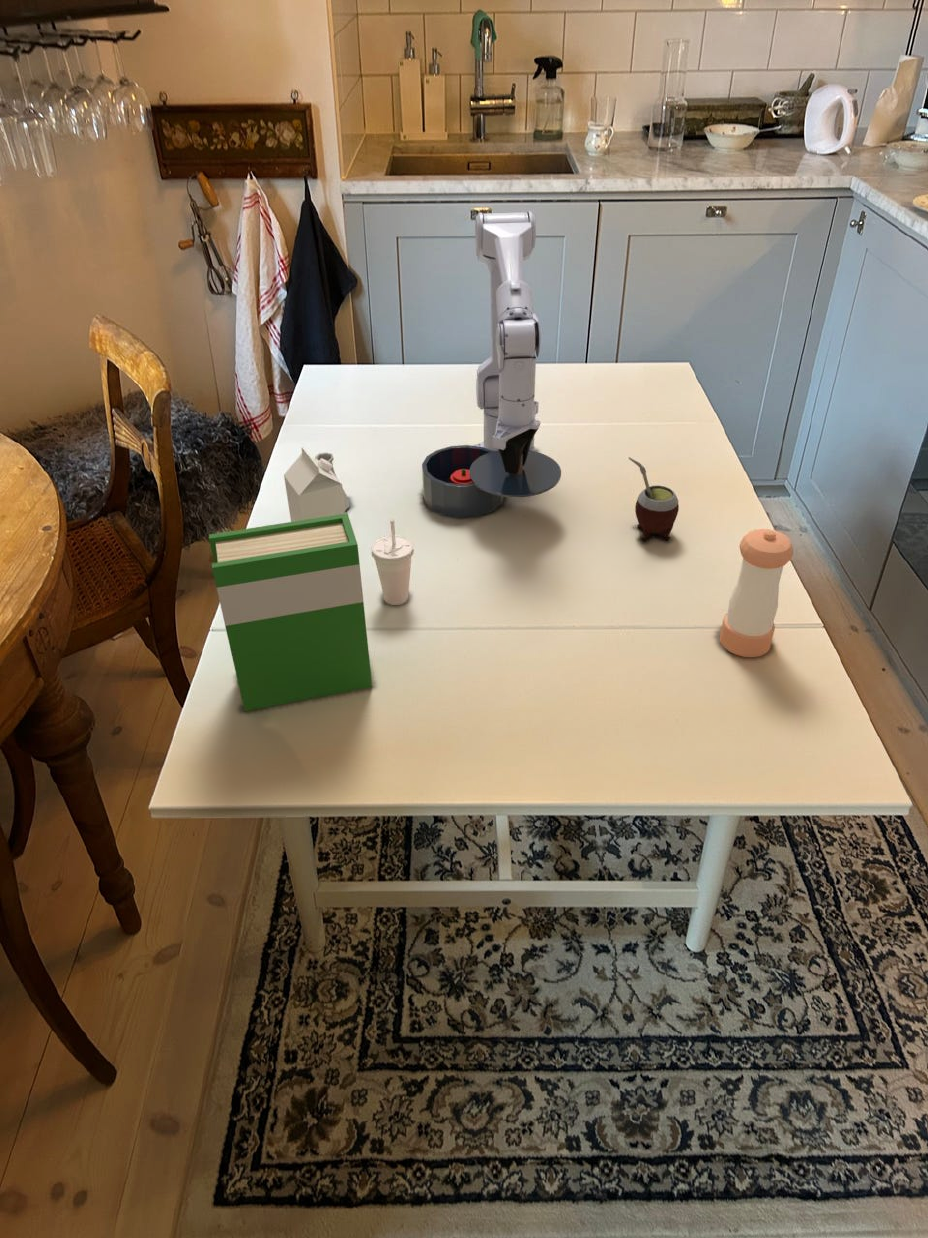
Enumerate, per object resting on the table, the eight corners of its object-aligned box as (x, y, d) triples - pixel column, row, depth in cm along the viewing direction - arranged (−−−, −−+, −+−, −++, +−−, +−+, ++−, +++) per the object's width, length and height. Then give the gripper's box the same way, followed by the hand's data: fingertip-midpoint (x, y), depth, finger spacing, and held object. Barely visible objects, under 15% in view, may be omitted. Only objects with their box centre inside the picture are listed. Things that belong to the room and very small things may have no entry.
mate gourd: (682, 532, 160) (694, 454, 150) (656, 552, 155) (667, 473, 146) (645, 516, 164) (655, 439, 154) (619, 535, 159) (627, 457, 150)
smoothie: (423, 591, 148) (419, 516, 139) (404, 614, 143) (399, 538, 135) (387, 581, 150) (381, 506, 141) (368, 604, 145) (360, 528, 137)
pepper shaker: (761, 663, 134) (789, 553, 122) (712, 646, 137) (734, 536, 125) (777, 635, 138) (805, 526, 126) (729, 619, 141) (752, 511, 129)
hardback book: (244, 711, 127) (212, 567, 112) (239, 675, 133) (208, 534, 118) (372, 686, 131) (357, 544, 116) (362, 653, 136) (347, 513, 121)
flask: (353, 496, 170) (349, 447, 164) (346, 518, 165) (340, 468, 158) (314, 494, 171) (308, 445, 165) (305, 516, 165) (298, 466, 159)
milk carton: (310, 575, 152) (295, 472, 140) (295, 553, 156) (280, 451, 145) (351, 563, 154) (340, 460, 142) (335, 541, 159) (323, 441, 147)
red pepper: (468, 484, 172) (467, 459, 169) (482, 496, 169) (482, 471, 166) (445, 492, 170) (445, 467, 167) (459, 503, 167) (459, 478, 164)
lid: (504, 445, 168) (505, 423, 166) (578, 471, 161) (580, 449, 158) (450, 481, 159) (450, 459, 156) (526, 511, 151) (527, 488, 149)
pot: (457, 467, 178) (456, 437, 174) (520, 491, 171) (521, 460, 167) (407, 499, 169) (405, 469, 165) (471, 526, 162) (470, 495, 158)
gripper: (521, 417, 144) (519, 493, 152) (556, 380, 154) (552, 453, 163) (480, 408, 146) (480, 484, 155) (517, 372, 156) (515, 445, 165)
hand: (514, 468), depth 159 cm, fingers closed on lid, 2 cm apart
